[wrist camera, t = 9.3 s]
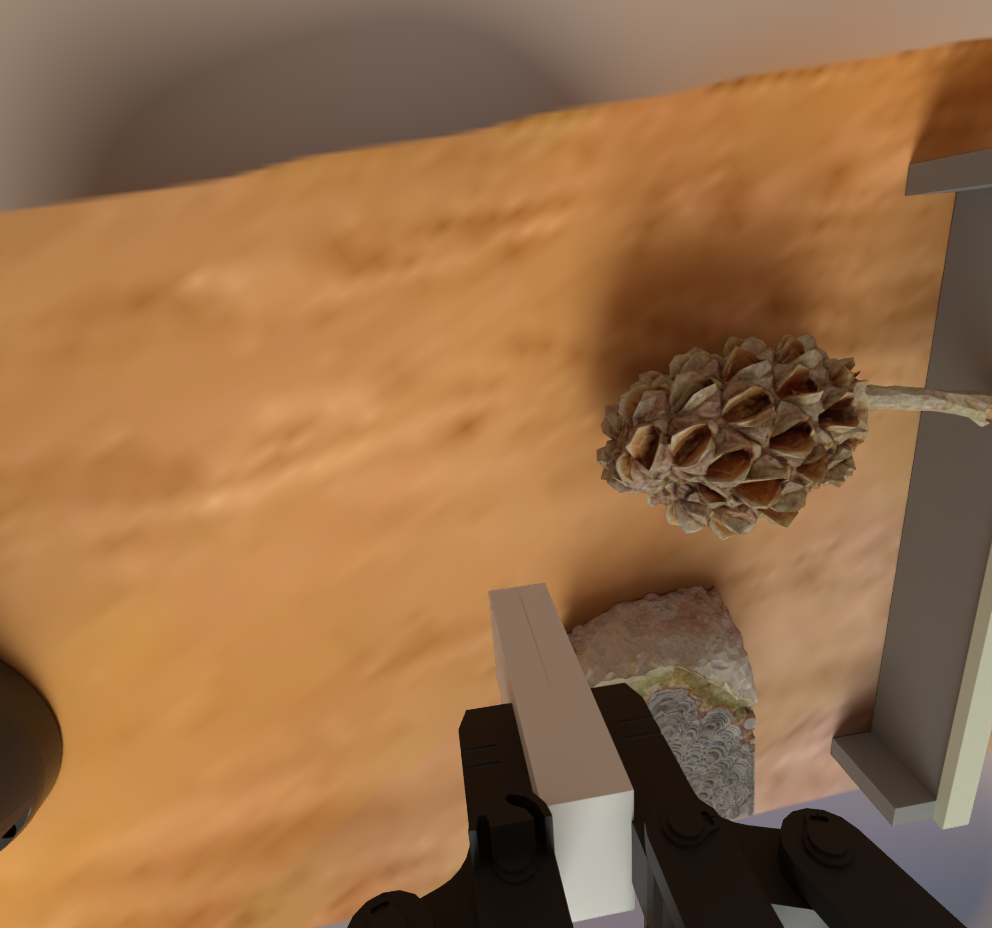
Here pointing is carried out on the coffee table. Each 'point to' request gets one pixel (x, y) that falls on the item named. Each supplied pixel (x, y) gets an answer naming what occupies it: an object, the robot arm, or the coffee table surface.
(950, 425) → the end rail
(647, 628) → the geological specimen
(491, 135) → the coffee table surface
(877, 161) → the coffee table surface
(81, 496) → the coffee table surface
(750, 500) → the pine cone
